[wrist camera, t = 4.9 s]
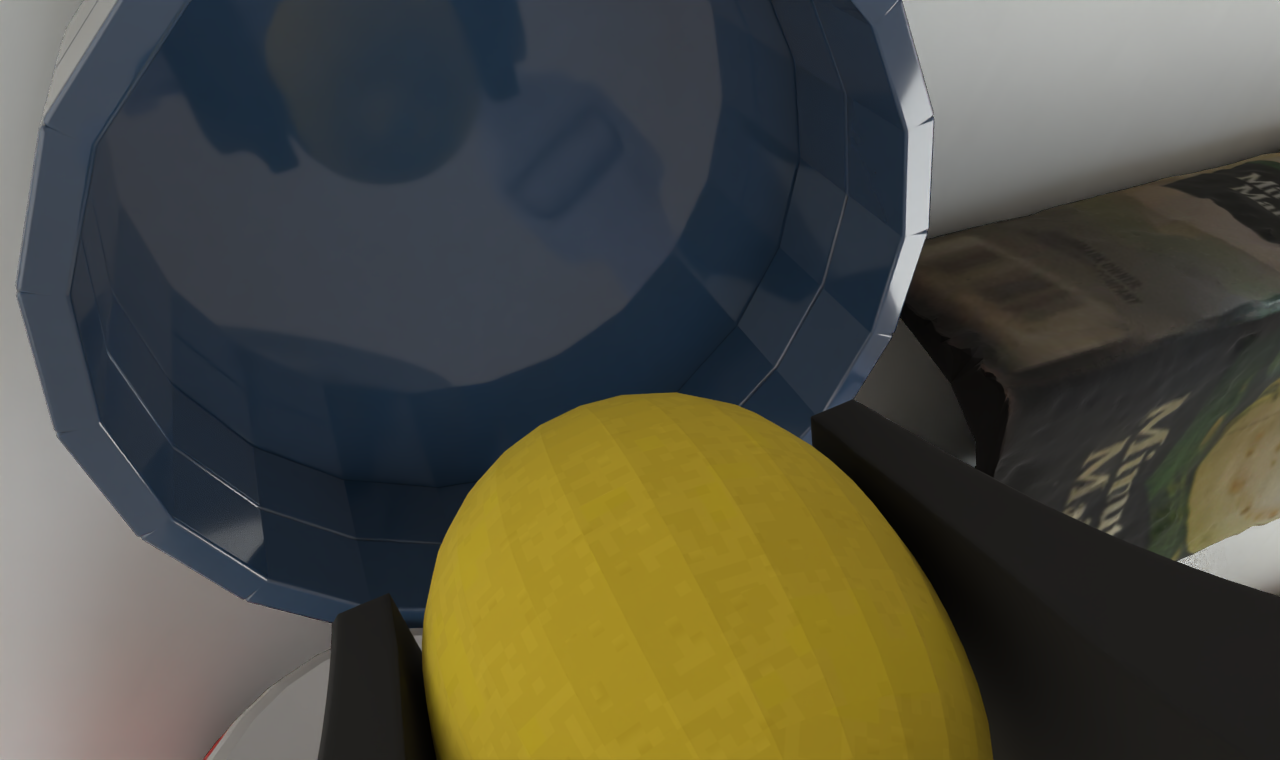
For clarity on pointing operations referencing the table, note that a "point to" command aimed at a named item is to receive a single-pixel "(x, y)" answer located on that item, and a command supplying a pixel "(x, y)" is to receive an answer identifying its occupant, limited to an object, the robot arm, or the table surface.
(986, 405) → the juice carton
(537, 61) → the bowl
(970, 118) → the table surface
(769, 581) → the lemon
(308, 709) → the canned food
